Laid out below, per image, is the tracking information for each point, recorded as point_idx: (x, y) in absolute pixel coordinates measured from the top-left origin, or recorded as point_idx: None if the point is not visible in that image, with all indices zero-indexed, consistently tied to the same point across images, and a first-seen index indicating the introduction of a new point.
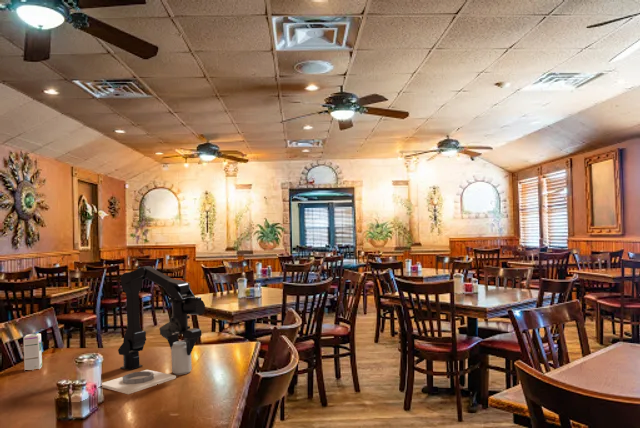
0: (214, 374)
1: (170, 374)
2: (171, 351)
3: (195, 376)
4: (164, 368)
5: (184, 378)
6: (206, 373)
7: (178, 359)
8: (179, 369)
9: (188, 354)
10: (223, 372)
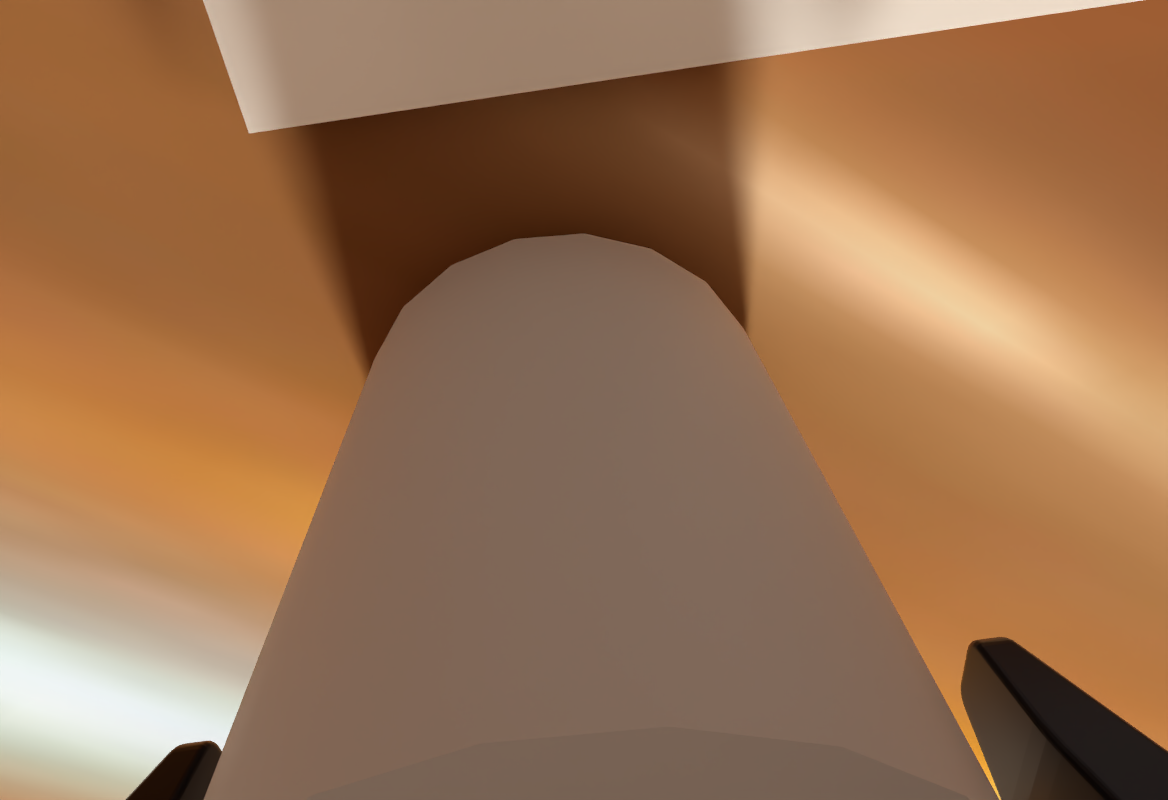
0: (9, 635)
1: (455, 99)
2: (755, 582)
3: (110, 422)
4: (1144, 346)
5: (119, 230)
6: (164, 597)
7: (360, 469)
8: (401, 335)
9: (163, 772)
10: (32, 735)
